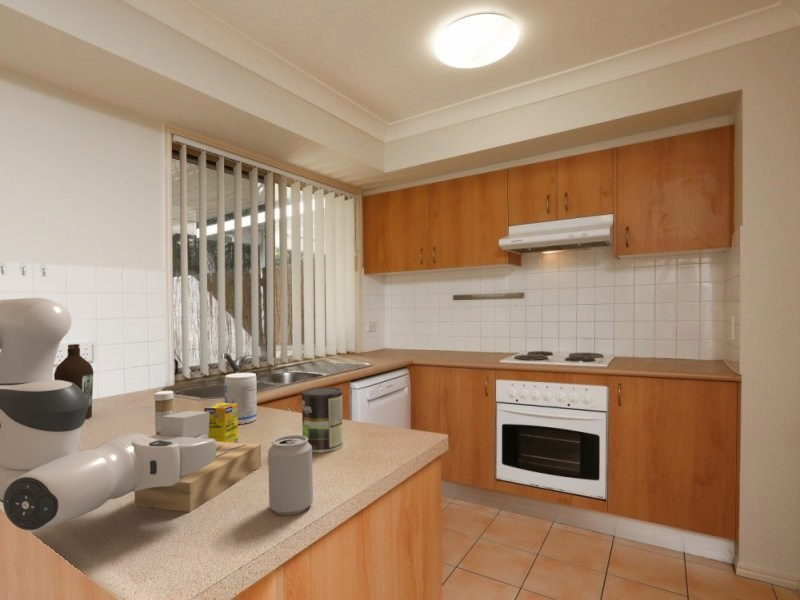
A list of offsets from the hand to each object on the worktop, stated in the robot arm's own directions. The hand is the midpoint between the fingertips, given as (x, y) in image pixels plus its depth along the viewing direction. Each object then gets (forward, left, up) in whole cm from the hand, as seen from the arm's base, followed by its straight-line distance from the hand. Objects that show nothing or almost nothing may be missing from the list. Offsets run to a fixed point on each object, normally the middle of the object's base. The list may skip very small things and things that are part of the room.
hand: (190, 437), depth 86 cm
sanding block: (-1, -2, -5) cm, 6 cm away
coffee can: (+27, +21, -11) cm, 35 cm away
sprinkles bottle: (-14, +39, -11) cm, 42 cm away
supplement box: (+2, +28, -11) cm, 30 cm away
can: (+19, -12, -11) cm, 25 cm away
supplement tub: (+4, +55, -11) cm, 56 cm away
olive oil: (-51, +78, -11) cm, 94 cm away
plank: (+2, +4, -10) cm, 11 cm away
